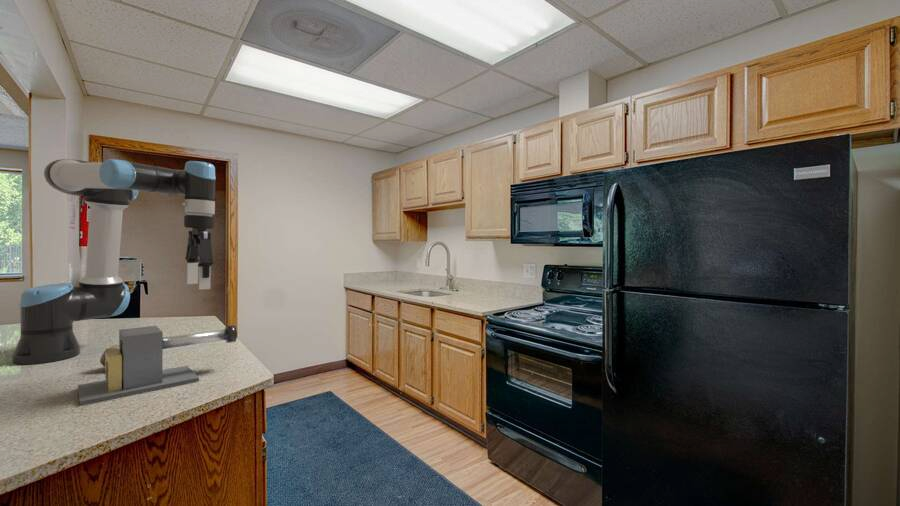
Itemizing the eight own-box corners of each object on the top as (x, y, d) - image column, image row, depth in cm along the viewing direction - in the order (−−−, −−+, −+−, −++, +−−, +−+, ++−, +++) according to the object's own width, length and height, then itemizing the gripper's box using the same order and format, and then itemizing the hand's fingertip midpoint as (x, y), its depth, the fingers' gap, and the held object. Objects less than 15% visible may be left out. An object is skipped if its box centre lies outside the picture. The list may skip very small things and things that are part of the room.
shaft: (133, 354, 105) (134, 335, 105) (231, 340, 122) (231, 323, 122) (136, 358, 101) (136, 339, 101) (236, 343, 118) (236, 326, 118)
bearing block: (119, 383, 105) (119, 329, 104) (155, 376, 110) (155, 325, 110) (123, 394, 98) (123, 336, 97) (162, 386, 103) (162, 332, 103)
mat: (77, 388, 100) (77, 384, 100) (187, 368, 117) (187, 365, 117) (80, 405, 90) (80, 401, 90) (198, 381, 108) (199, 377, 108)
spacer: (105, 382, 102) (105, 349, 102) (117, 380, 104) (117, 347, 104) (108, 392, 96) (108, 356, 96) (121, 390, 98) (121, 354, 97)
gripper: (174, 214, 120) (173, 282, 121) (195, 213, 102) (194, 292, 103) (202, 216, 125) (201, 281, 126) (227, 215, 108) (225, 290, 109)
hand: (198, 286), depth 115 cm, fingers open, 13 cm apart
